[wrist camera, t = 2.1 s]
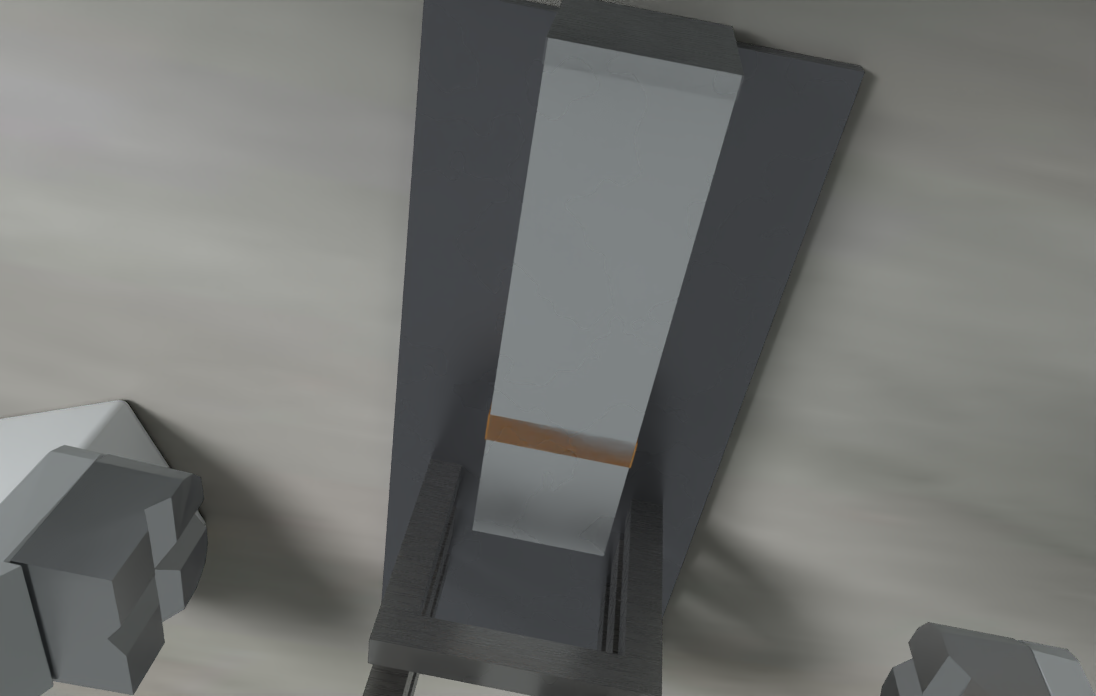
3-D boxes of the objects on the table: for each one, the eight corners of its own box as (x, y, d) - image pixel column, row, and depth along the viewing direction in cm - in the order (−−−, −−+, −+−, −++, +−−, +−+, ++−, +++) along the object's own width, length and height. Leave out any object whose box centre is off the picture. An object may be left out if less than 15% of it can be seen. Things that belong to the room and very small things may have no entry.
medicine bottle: (75, 540, 39) (-127, 803, 29) (-19, 418, 35) (-288, 673, 25) (211, 524, 37) (46, 798, 27) (127, 394, 33) (-98, 657, 24)
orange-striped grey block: (564, -7, 23) (545, 37, 19) (732, 26, 23) (744, 76, 19) (493, 443, 32) (470, 529, 28) (612, 466, 32) (604, 556, 28)
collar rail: (430, -19, 23) (272, 126, 14) (860, 65, 23) (989, 266, 14) (384, 606, 39) (294, 873, 29) (643, 657, 39) (636, 942, 29)
